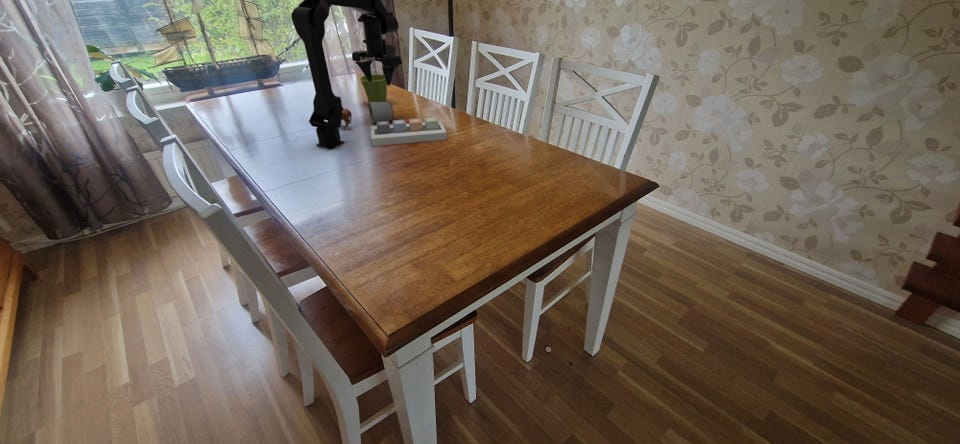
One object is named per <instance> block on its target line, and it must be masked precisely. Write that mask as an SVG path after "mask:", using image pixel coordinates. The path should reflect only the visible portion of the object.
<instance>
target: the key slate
mask: <svg viewBox="0 0 960 444" xmlns="http://www.w3.org/2000/svg"><path fill="white" fill-rule="evenodd" d="M406 124H407V122H406V119H396V120H394V119H393V120H392V125H393V128H394V133H402V132H407V128H406Z"/></svg>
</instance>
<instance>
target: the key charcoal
mask: <svg viewBox="0 0 960 444" xmlns="http://www.w3.org/2000/svg"><path fill="white" fill-rule="evenodd" d="M375 124H376V126H377V131H378V134H390V133H391V132H390V125H391V124H390V121H379V122H376V123H375Z"/></svg>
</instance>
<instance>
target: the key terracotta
mask: <svg viewBox="0 0 960 444" xmlns="http://www.w3.org/2000/svg"><path fill="white" fill-rule="evenodd" d="M422 122H423V121H422V118H409V119H408V123H409V128H410V131H411V132H415V131H423V126H422Z"/></svg>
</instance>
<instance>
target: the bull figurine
mask: <svg viewBox="0 0 960 444" xmlns="http://www.w3.org/2000/svg"><path fill="white" fill-rule="evenodd" d="M343 109H344V110H342V113H343V114H342V120H341V121H344V123H345V125H344V128H345V131H347V130H349V127H350V125H351V124H352V117H353V116H352V111H351V110H350V109H348V108H343Z"/></svg>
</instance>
